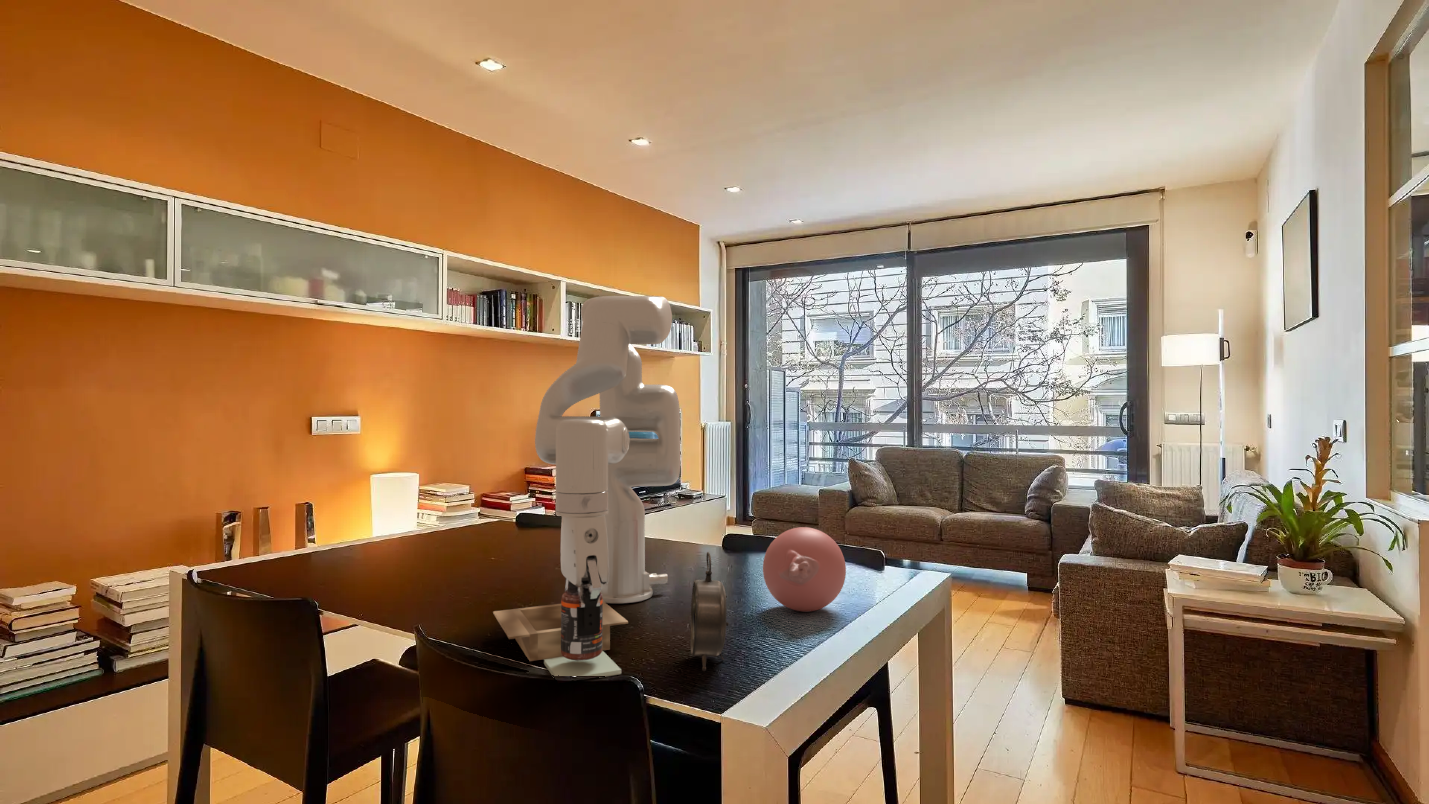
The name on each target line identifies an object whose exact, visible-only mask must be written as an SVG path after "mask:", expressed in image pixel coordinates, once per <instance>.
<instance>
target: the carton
mask: <svg viewBox="0 0 1429 804" xmlns="http://www.w3.org/2000/svg"><path fill="white" fill-rule="evenodd" d="M492 613H493V615H494V617H495V618H496V620H497V622H498V624H499V625H500V627H501V628H502V630H503V632H504V633H505V635H506V637H507V638H508V640H514V639H515V641H516V642H517V644H518V645H519V647H520V649H521V650H522V652H523V653H524V655H525V657H527V659H528V660H529V662H534V661H541V660H544V659H551V658H557V657H563V656H562V654H561V603H554V604H547V605H546V604H545V605H538V606H536V605H535V606H529V607H520V608H513V609H503V610H501V609H500V610H494V611H492ZM602 616H603V621H602V626H603V627H602V635H603V636H602V639H603V640H602V651H610V650H611V641H610V640H611V627H612V626H618V625H626V624H629V621H628V620H627V619H626V618H625V617H624V616H622V615H621V614H620V613H618V612H617V611H616V610H615V609H613V608H612V607H611V606H610V605H608V603H605V602H604V601H603V615H602Z"/></svg>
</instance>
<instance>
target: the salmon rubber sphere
mask: <svg viewBox="0 0 1429 804" xmlns="http://www.w3.org/2000/svg"><path fill="white" fill-rule="evenodd" d="M846 566H847V565H846V561H845V557H844V555H843V552H842V549H841V548H840V546H839V544H838V543H836V541H835V540H834V539H833V538H832V537H831V536H830V535H828V534H827V533H825V532H824V531H822V530H819V529H817V528H812V527H807V526H805V527H803V526H802V527H801V526H799V527H793V528H790V529H787V530H785V531H783V532H781V533H780V534H779V535H778V536H776V537H775V538H774V540H772V541H771V542H770V544H769V546H768V547H767V549H766V551H765V554H764V558H763V562H762V573H763V575H762V576H763V580H764V582H765V585H766V588H767V589H768V591H769V592H770V594H771V596H772V597H773V598H774V599H775V600H776V601H777V602H778V603H779V604H781V605H783V606H784V607H786V608H788V609H790V610H792V611H796V612H802V613H803V612H804V613H806V612H807V613H809V612H815V611H817V610H821V609H823V608H826V607H827V606H829V605H831V603H832V602H833V601H834V600H836V598H837V597H838V596H839V595H840V593H841V591H842V590H843V587H844V584H845V580H846V575H847V574H846V573H847V567H846Z"/></svg>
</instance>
